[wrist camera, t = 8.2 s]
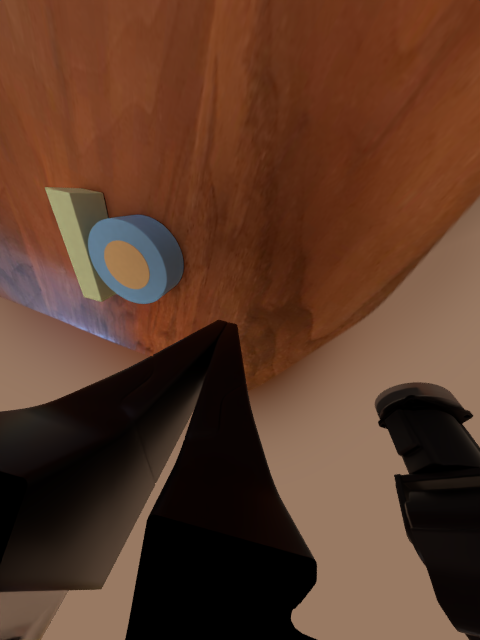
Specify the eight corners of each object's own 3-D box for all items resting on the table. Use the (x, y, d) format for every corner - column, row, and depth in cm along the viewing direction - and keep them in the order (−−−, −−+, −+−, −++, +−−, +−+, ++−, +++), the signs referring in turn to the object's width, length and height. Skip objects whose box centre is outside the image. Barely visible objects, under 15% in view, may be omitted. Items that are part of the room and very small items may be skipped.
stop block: (103, 192, 16) (68, 192, 13) (123, 289, 21) (101, 302, 19) (81, 188, 16) (44, 187, 14) (107, 285, 21) (83, 297, 19)
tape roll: (183, 224, 16) (163, 229, 13) (184, 297, 20) (168, 312, 17) (107, 207, 16) (74, 209, 14) (123, 281, 20) (99, 293, 18)
